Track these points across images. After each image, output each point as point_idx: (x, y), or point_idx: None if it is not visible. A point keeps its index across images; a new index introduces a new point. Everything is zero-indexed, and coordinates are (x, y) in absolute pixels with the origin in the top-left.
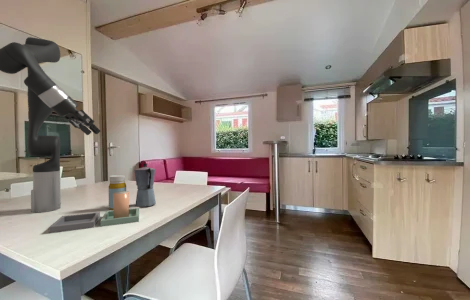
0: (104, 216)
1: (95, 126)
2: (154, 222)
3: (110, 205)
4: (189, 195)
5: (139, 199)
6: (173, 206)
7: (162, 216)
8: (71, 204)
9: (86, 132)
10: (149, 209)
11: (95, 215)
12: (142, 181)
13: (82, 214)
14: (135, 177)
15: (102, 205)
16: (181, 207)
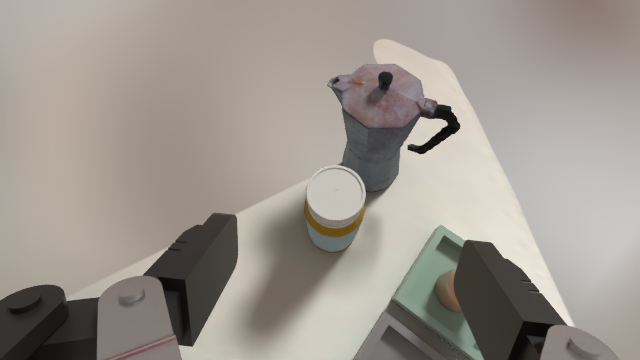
0: (446, 332)
1: (553, 310)
2: (539, 257)
3: (335, 249)
4: (384, 44)
5: (378, 179)
6: (448, 139)
7: (508, 214)
8: (134, 273)
9: (226, 272)
10: (418, 188)
11: (413, 341)
12: (397, 144)
13: (367, 357)
14: (367, 143)
15: (249, 229)
16: (475, 137)
